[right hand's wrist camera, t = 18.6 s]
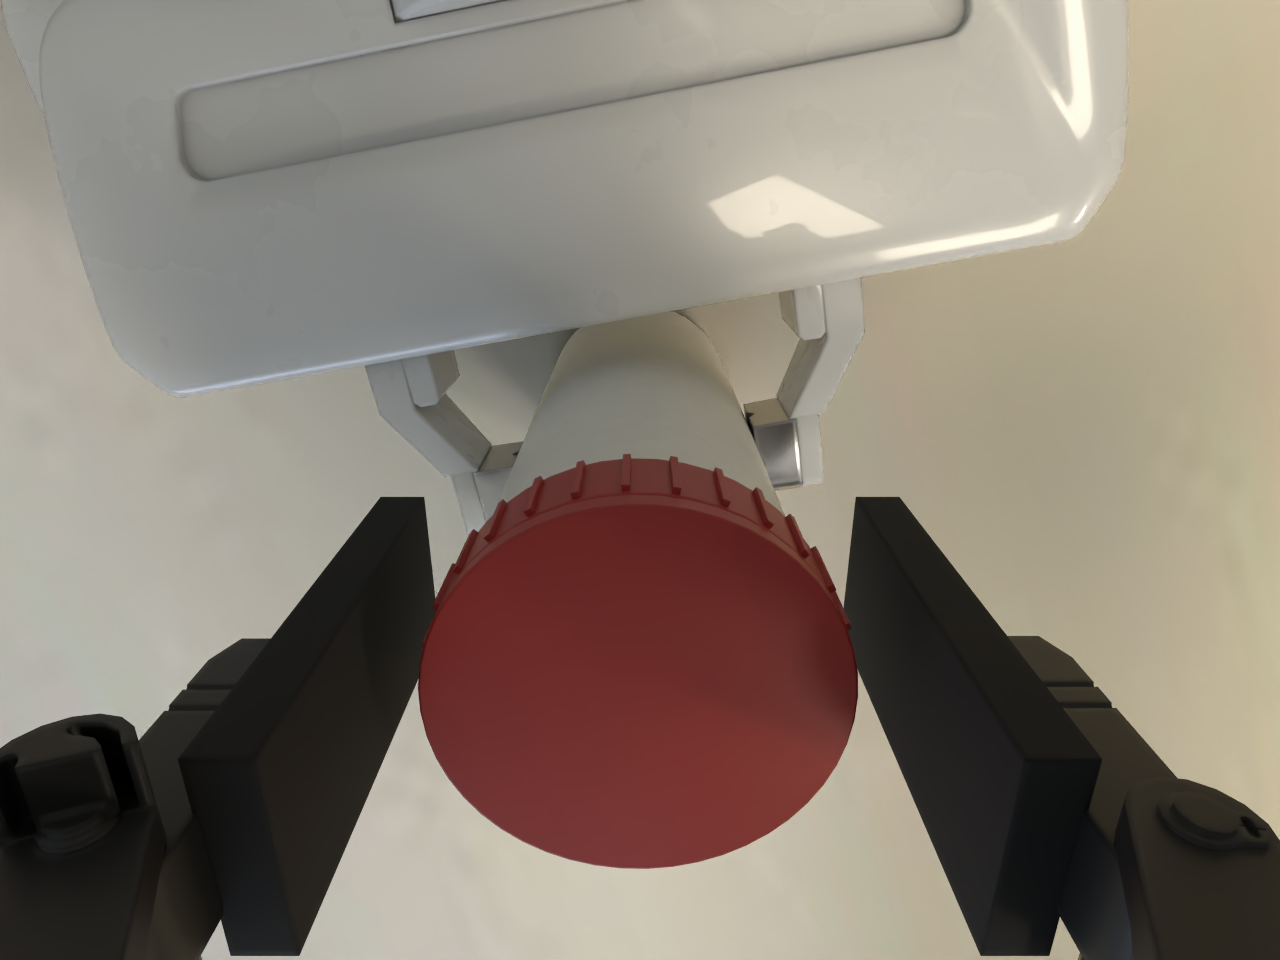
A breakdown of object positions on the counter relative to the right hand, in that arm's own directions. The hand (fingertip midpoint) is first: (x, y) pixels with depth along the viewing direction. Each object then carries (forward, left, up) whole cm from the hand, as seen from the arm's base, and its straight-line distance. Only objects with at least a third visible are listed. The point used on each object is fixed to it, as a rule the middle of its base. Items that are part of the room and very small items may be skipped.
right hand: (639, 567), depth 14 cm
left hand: (-1, +1, -5) cm, 5 cm away
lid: (0, 0, +4) cm, 4 cm away
